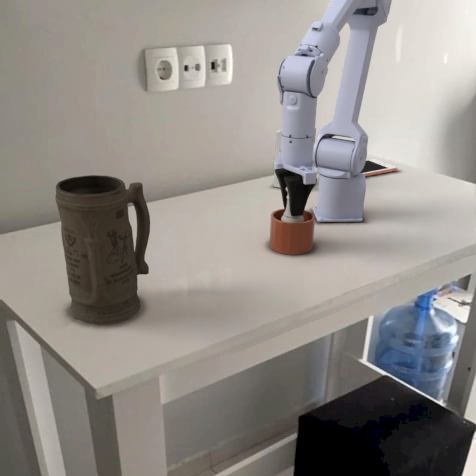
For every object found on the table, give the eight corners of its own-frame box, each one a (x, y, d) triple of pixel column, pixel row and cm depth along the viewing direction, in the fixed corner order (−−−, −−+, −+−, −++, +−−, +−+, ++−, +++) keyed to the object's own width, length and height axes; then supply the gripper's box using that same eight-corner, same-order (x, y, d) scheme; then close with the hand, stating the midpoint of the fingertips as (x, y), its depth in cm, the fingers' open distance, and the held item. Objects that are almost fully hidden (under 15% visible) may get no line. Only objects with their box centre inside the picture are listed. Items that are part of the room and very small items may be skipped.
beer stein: (105, 333, 93) (95, 196, 83) (53, 314, 98) (37, 182, 87) (168, 300, 105) (167, 175, 94) (119, 284, 109) (112, 163, 98)
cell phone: (397, 170, 160) (398, 167, 160) (341, 181, 153) (341, 177, 152) (375, 162, 167) (375, 158, 166) (319, 171, 159) (319, 168, 159)
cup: (309, 237, 124) (311, 207, 121) (315, 254, 118) (318, 223, 114) (268, 238, 124) (269, 208, 120) (272, 255, 117) (273, 223, 114)
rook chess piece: (292, 233, 116) (294, 189, 111) (275, 226, 119) (277, 183, 114) (309, 227, 118) (312, 184, 114) (292, 220, 121) (294, 178, 116)
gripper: (262, 126, 114) (260, 201, 122) (290, 146, 102) (286, 228, 110) (299, 123, 115) (295, 197, 123) (330, 144, 104) (323, 224, 112)
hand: (293, 212), depth 117 cm, fingers closed on rook chess piece, 3 cm apart
